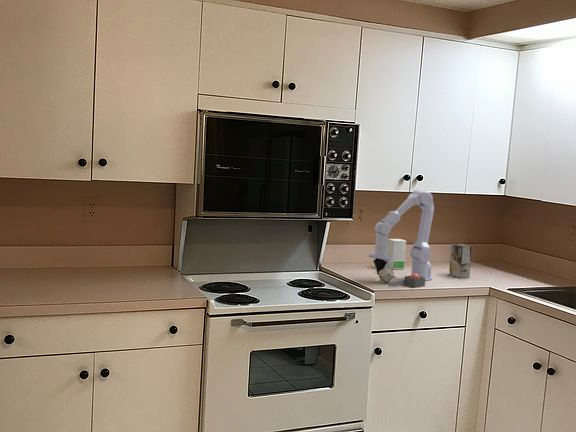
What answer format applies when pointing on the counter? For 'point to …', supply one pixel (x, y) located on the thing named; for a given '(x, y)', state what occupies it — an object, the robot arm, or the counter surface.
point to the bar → (396, 282)
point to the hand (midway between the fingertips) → (379, 274)
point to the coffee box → (460, 260)
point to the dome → (415, 276)
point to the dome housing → (414, 281)
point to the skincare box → (396, 253)
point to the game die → (386, 274)
